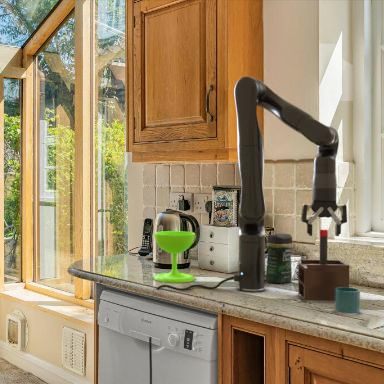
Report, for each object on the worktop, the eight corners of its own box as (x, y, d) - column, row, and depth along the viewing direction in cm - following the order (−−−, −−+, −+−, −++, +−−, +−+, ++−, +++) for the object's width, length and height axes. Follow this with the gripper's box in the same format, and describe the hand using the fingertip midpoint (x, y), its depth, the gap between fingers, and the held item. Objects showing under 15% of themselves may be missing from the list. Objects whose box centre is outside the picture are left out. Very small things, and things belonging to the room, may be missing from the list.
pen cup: (337, 315, 174) (338, 291, 174) (332, 309, 181) (332, 286, 181) (362, 315, 173) (362, 292, 173) (355, 310, 180) (356, 287, 180)
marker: (320, 266, 195) (320, 230, 195) (318, 265, 198) (319, 229, 197) (328, 266, 195) (328, 230, 194) (326, 265, 197) (326, 229, 197)
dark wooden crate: (304, 301, 192) (304, 264, 191) (298, 294, 203) (298, 259, 202) (348, 302, 190) (349, 265, 190) (340, 295, 201) (340, 260, 201)
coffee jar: (278, 284, 220) (279, 235, 220) (262, 281, 227) (262, 233, 226) (295, 282, 226) (296, 233, 225) (279, 279, 232) (280, 231, 232)
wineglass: (202, 281, 228) (202, 234, 227) (163, 283, 222) (164, 236, 222) (184, 274, 243) (184, 230, 242) (147, 276, 237) (148, 231, 237)
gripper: (343, 186, 198) (343, 235, 199) (300, 186, 200) (299, 234, 200) (349, 187, 191) (348, 237, 191) (304, 186, 192) (303, 236, 193)
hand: (323, 235), depth 196 cm, fingers open, 8 cm apart
